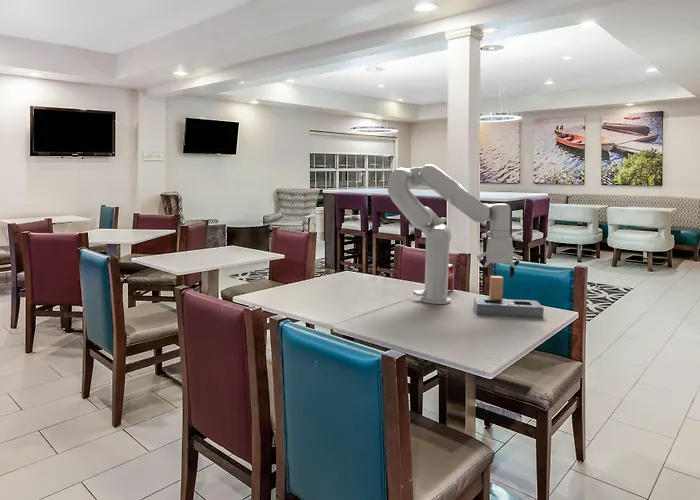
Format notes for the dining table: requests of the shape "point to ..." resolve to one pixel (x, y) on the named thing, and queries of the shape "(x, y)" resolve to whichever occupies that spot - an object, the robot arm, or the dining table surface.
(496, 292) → the square peg
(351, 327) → the dining table surface
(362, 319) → the dining table surface
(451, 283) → the soda can
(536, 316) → the gray peg hole board
